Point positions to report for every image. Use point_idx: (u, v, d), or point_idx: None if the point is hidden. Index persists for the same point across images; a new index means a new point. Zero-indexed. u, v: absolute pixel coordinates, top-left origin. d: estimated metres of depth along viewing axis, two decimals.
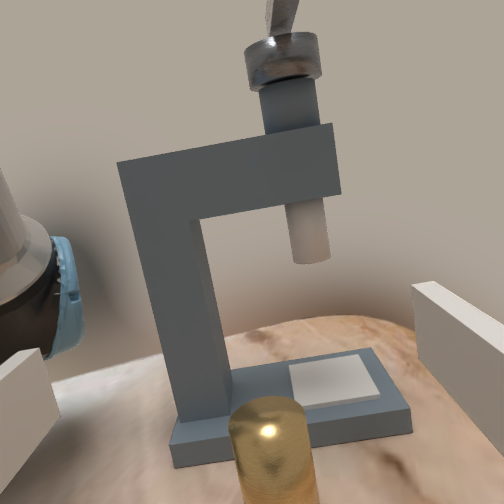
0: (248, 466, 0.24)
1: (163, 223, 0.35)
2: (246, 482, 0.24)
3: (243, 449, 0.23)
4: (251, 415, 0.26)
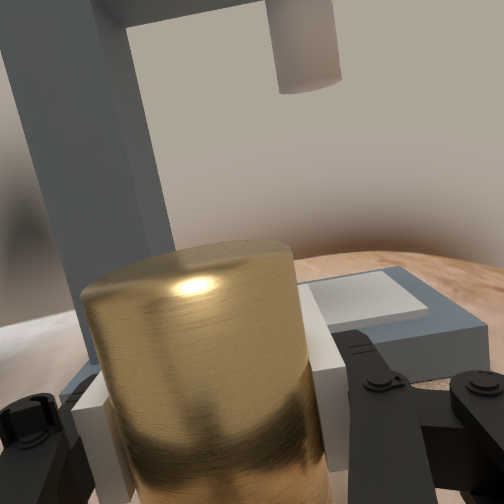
0: (122, 379, 0.08)
1: None
2: (125, 429, 0.08)
3: (103, 325, 0.08)
4: (156, 267, 0.10)
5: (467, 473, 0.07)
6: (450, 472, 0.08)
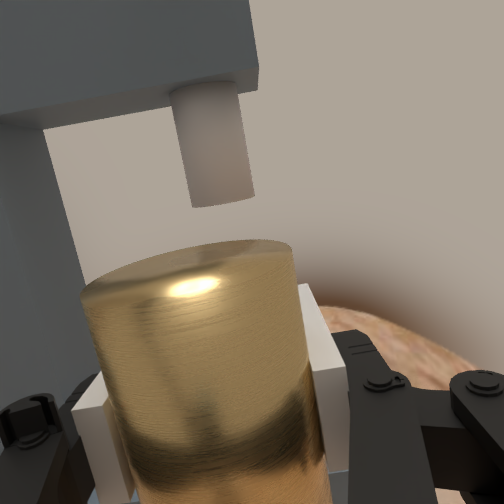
0: (121, 379, 0.08)
1: None
2: (125, 430, 0.08)
3: (102, 324, 0.08)
4: (156, 266, 0.10)
5: (467, 473, 0.07)
6: (450, 472, 0.08)
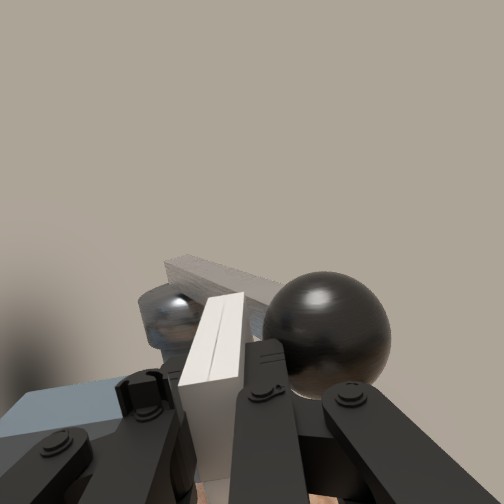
0: None
1: None
2: None
3: None
4: None
5: (333, 480, 0.08)
6: (319, 479, 0.08)
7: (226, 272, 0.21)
